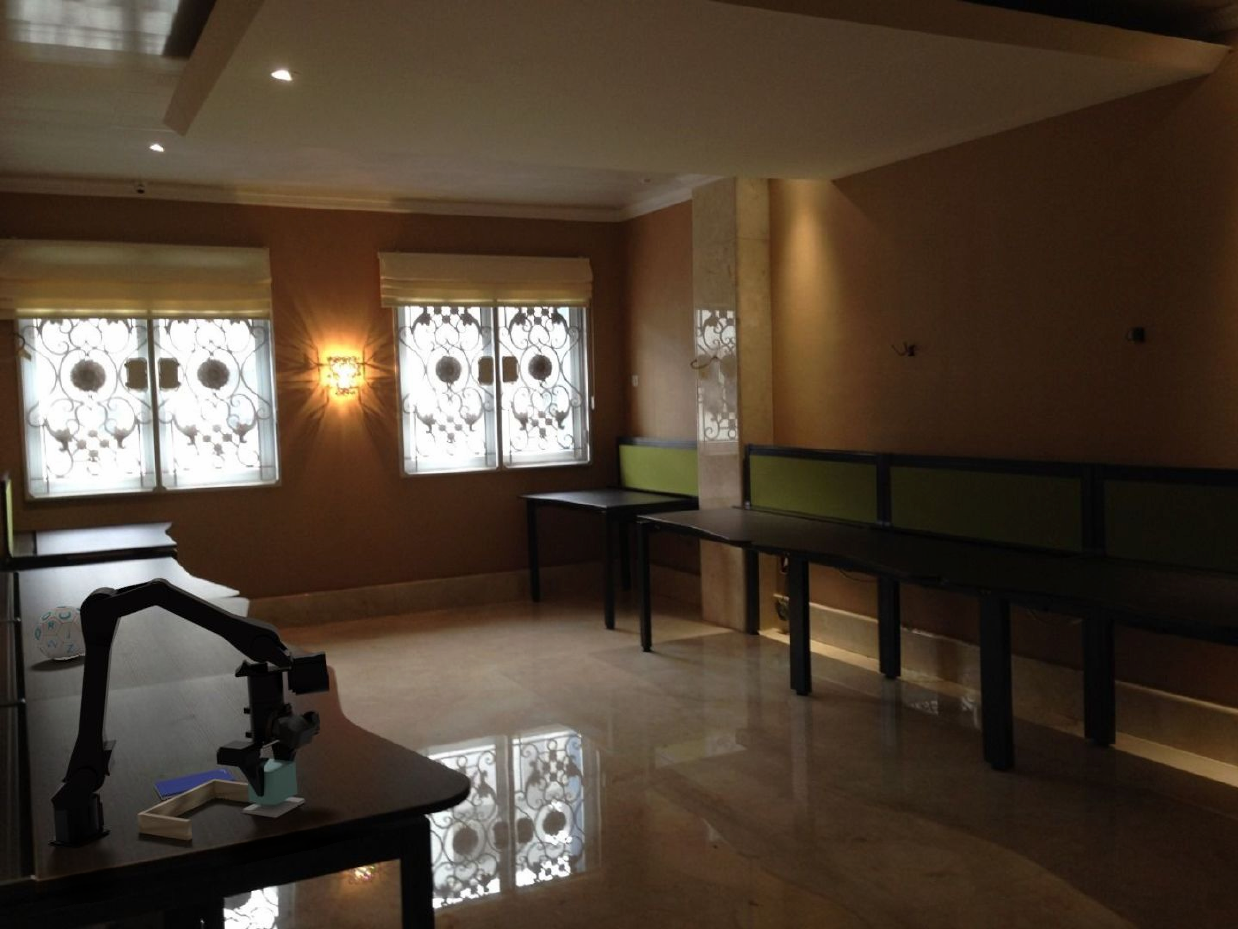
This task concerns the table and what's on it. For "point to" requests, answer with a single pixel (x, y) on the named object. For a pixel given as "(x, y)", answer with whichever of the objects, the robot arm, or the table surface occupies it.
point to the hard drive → (189, 782)
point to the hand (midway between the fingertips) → (272, 790)
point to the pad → (273, 807)
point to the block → (276, 782)
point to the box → (187, 808)
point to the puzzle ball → (60, 633)
